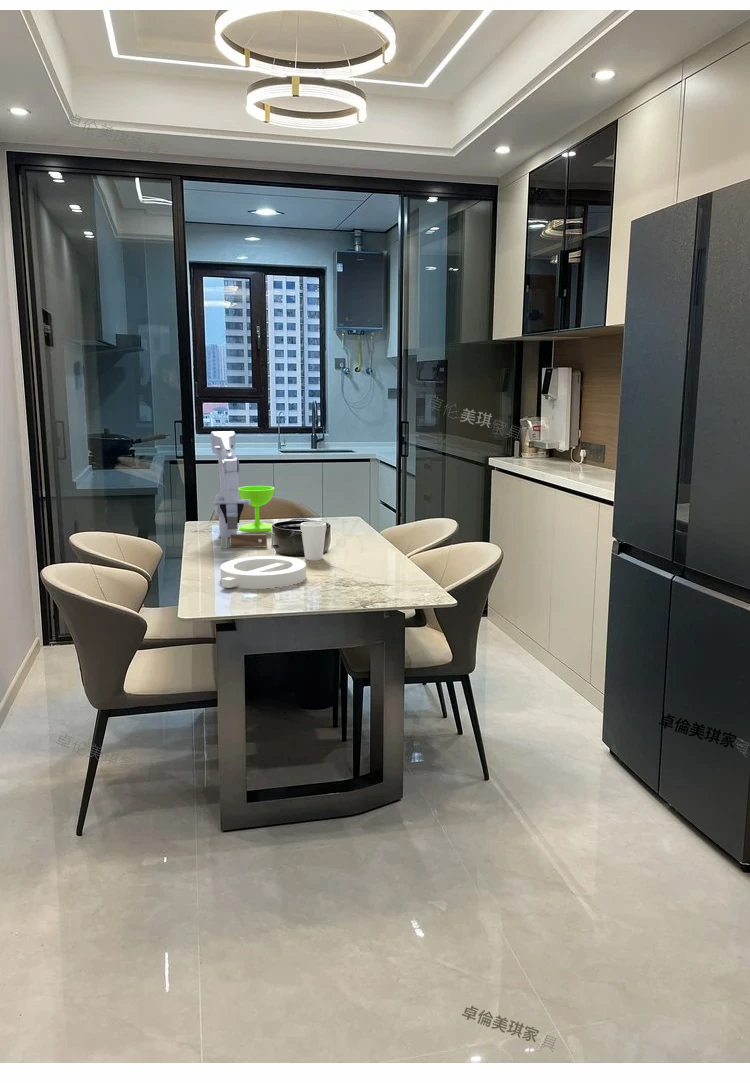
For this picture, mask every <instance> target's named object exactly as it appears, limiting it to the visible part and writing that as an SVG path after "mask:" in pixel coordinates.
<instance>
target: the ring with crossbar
mask: <svg viewBox="0 0 750 1083" xmlns="http://www.w3.org/2000/svg"><path fill="white" fill-rule="evenodd" d="M306 569H307V563H306V562H305V561H304V560H302V558H296V557H291V556H289V557H288V556H280V555H279V556H278V555H260V556H259V555H257V556H248V557H240V558H235V559H231V560H228V561H226V562H223V563H221V565H220V569H219V570H220V581H221V587H222V588H228V589H231V588H237V587H238V589H247V590H248V589H249V590H250V589H251V590H252V589H253V590H267V589H266V588H270V589H276V588H275V587H280V588H284V587H283V586H286V587H290V586H289V585H291V586H294V585H293V584H295V585H298V584H300V583H302V582H304V581H306V579H307V570H306ZM303 580H304V581H303ZM297 583H298V584H297Z"/></svg>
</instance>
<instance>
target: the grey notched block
mask: <svg viewBox="0 0 750 1083" xmlns="http://www.w3.org/2000/svg"><path fill="white" fill-rule="evenodd" d="M237 518H238V515H236V516H232V517H227V528H228V530H229V529H237V530H238V528H239V525H238V524H239V523H238V522H237Z"/></svg>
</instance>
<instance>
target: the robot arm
mask: <svg viewBox="0 0 750 1083" xmlns="http://www.w3.org/2000/svg"><path fill="white" fill-rule="evenodd" d="M236 439H237V438H236V432H235V431H233V430H230V431H228V430H227V431H215V430H214V431H211V432H210V445H211V451H212V453H213V454H214V455H216V457H217V461H218V471H219V472H218V473H219V484H220V492H219V493H217V494H216V495H215V497H214V499H213V500H212V506H214V512H215V514H216V515H218V525H219V526H218V529H219V532H218V538H221V536H227V538H230V535H231V534H239V533H238V529H229V530H228V528H227V517H232V516H237V522H238V524H240V519H241V515H242V512H243V511H244V510H243V509H244V507H245V506H244V505H247V506H251V505H250V499H241V498H240V495H239V488H240V487H239V474H240V461H239V458H238V457H237V456H236V453H235V449H236V448H235V447H236Z"/></svg>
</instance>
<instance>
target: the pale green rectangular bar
mask: <svg viewBox="0 0 750 1083" xmlns="http://www.w3.org/2000/svg"><path fill="white" fill-rule="evenodd" d="M272 534H273V533H271V535H270V536H271V537H270V538H271V546H272V547H274V546H273V535H272ZM220 544H221V545H220V547H221V549H227V548H228V537H227V536H221V537H220Z"/></svg>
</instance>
